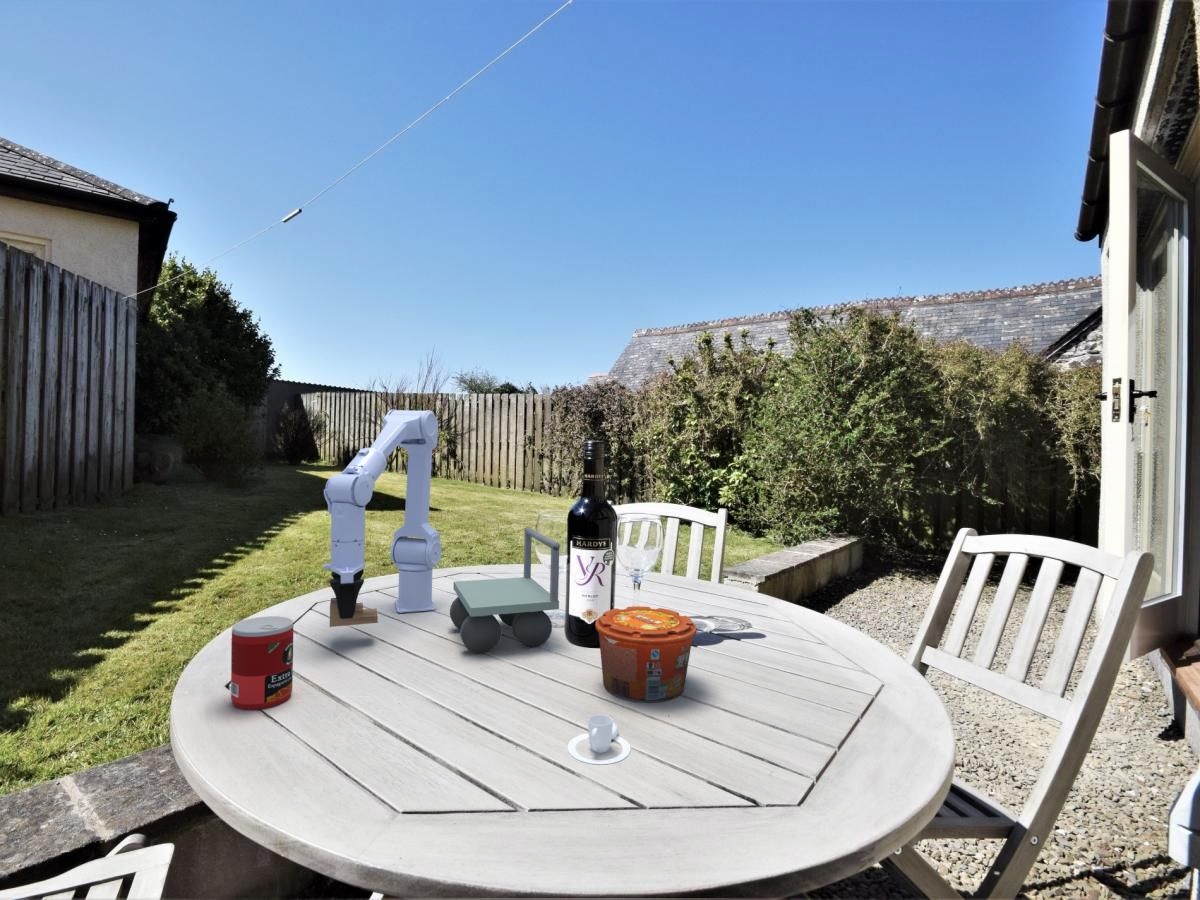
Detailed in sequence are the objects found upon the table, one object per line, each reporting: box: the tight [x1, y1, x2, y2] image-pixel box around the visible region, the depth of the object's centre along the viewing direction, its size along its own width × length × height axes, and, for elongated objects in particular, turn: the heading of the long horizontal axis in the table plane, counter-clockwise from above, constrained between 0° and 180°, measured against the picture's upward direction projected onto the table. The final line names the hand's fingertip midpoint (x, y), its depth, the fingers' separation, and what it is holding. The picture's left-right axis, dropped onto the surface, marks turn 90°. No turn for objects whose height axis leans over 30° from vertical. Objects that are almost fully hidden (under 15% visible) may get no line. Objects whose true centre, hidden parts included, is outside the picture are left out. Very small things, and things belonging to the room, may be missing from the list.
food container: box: [594, 605, 698, 703], centre depth 97 cm, size 16×16×11 cm
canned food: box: [230, 615, 294, 711], centre depth 89 cm, size 8×8×11 cm
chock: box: [329, 597, 379, 628], centre depth 113 cm, size 5×8×4 cm, turn 112°
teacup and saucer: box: [567, 713, 632, 766], centre depth 78 cm, size 9×8×4 cm
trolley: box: [449, 526, 561, 655], centre depth 118 cm, size 20×17×20 cm
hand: (346, 613), depth 113 cm, fingers closed on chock, 5 cm apart
